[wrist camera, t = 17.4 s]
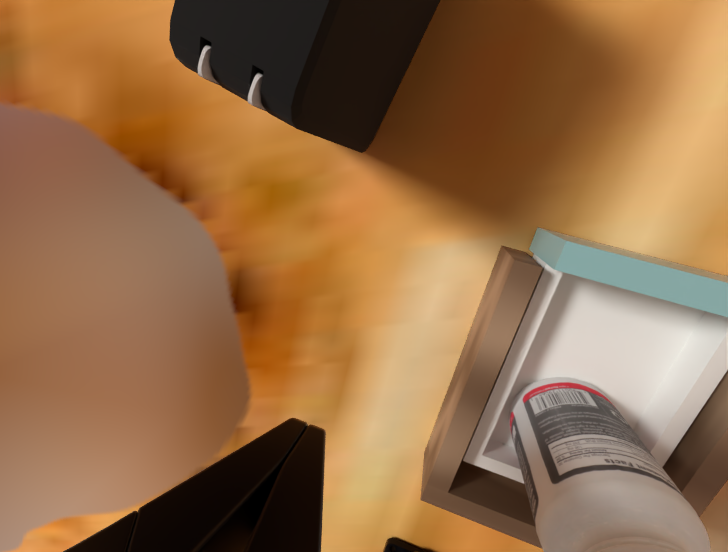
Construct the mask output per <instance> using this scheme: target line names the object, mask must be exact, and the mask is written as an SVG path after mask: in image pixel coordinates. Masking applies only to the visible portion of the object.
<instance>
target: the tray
mask: <svg viewBox="0 0 728 552" xmlns="http://www.w3.org/2000/svg"><path fill="white" fill-rule="evenodd" d="M529 250H530V251H531V252H533V253H534V254H533V257H532V259H533V260H534V261H536V262H537V263H538V264H539V265H540V266H541V267H543V269H542V271H541V273H540V276H539V278H538V280H537V283H536V285H535V287H534V290H533V292H532V295H531V297H530V299H529V302H528V304H527V306H526V309H525V311H524V314H523V316H522V318H521V321H520V323H519V325H518V328H517V330H516V333H515V335H514V337H513V340H512V342H511V344H510V347H509V349H508V351H507V354H506V356H505V359H504V361H503V363H502V366H501V368H500V370H499V373H498V375H497V378H496V380H495V382H494V385H493V387H492V389H491V392H490V394H489V396H488V399H487V401H486V404H485V406H484V408H483V411H482V413H481V415H480V418H479V420H478V423H477V425H476V427H475V430H474V432H473V434H472V437H471V439H470V442H469V444H468V446H467V449H466V451H465V453H464V456H463V461H465V462H467V463H470V464H473V465H475V466H478V467H481V468H483V469H486V470H489V471H491V472H494V473H497V474H499V475H502V476H505V477H508V478H510V479H513V480H516V481H518V482H521V483H524V480H523V476H522V472H521V469H520V465H519V461H518V457H517V453H516V450H515V447H514V443H513V440H512V435H511V431H510V427H509V421H508V414H509V410H510V406H511V404H512V402H513V400H514V398H515V397H516V395H517V394H518V393H519V392H520V391H521V390H522V389H523V388H525V387H526V386H528V385H530V384H531V383H533V382H536V381H538V380H542V379H545V378H552V377H569V378H574V379H578V380H581V381H584V382H587V383H589V384H591V385H593V386H594V387H596V388H597V389H599V390H600V391H601V392H602V393H603V394H605V395H606V397H607V398H608V399H609V400H610V401H611V402H612V404H613V405H614V406H615V407H616V409H617V410H618V411H619V412H620V414H621V415H622V416H623V418H624V419H625V420H626V421H627V423H628V424H629V425H630V427H631V428H632V429H633V430H634V432H635V433H636V434H637V435H638V437H639V438H640V439H641V441H642V442H643V443H644V445H645V446H646V448H647V449H648V450H649V451H650V453H651V454H652V455H653V457H654V458H655V459H656V460H657V462H658V463H659V464H660V465H661V467H663V466H664V464H665V463H666V461H667V460H668V458H669V457H670V455H671V454H672V452H673V451H674V449H675V448H676V446H677V445H678V443H679V442H680V440H681V439H682V437H683V436H684V434H685V433H686V431H687V430H688V428H689V427H690V425H691V424H692V422H693V421H694V419H695V418H696V416H697V415H698V413H699V412H700V410H701V409H702V407H703V406H704V404H705V403H706V401H707V400H708V398H709V397H710V395H711V394H712V392H713V391H714V389H715V388H716V387H717V385H718V384H719V382H720V381H721V379H722V378H723V376H724V375H725V373H726V372H727V370H728V276H725V275H721V274H717V273H713V272H709V271H706V270H702V269H698V268H694V267H690V266H686V265H682V264H678V263H674V262H671V261H667V260H663V259H659V258H655V257H651V256H647V255H643V254H640V253H636V252H632V251H628V250H624V249H620V248H616V247H612V246H608V245H605V244H601V243H597V242H593V241H589V240H585V239H581V238H577V237H574V236H570V235H566V234H562V233H558V232H554V231H550V230H546V229H543V228H539V227H538V228H537V230H536V233H535V235H534V238H533V240H532V243H531V245H530V248H529Z"/></svg>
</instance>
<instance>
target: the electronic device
mask: <svg viewBox="0 0 728 552" xmlns="http://www.w3.org/2000/svg"><path fill="white" fill-rule="evenodd" d="M439 2H440V0H175V3H174V7H173V11H172V15H171V20H170V43H171V46H172V48H173V51H174V54H175V57H176V58H177V59H178V60H179V61H180V62H181V63H182V64H183V65H184V66H186V67H187V68H189V69H191V70H192V71H194V72H196V73H198V75H199V76H201V77H203V78H204V79H207V80H209V81H211V82H214V83H216V84H218V85H220V86H222V87H223V88H225V89H226V90H228V91H230V92H232V93H234V94H235V95H237V96H239V97H241V98H243V99H244V100H246V101H248V103H249V104H251V105H253V106H255V107H257V108H260V109H262V110H265V111H267V112H268V113H270V114H271V115H273V116H275V117H277V118H279V119H280V120H282V121H284V122H286V123H287V124H289V125H291V126H293V127H295V128H296V129H299V130H302V131H304V132H307V133H310V134H313V135H315V136H318V137H321V138H323V139H326V140H329V141H331V142H334V143H337V144H340V145H342V146H345V147H348V148H350V149H353V150H356V151H358V152H361V153H362V152H364V151H366V149H367V148H368V147H369V145H370V144H371V142H372V140H373V138H374V136H375V134H376V132H377V130H378V128H379V126H380V124H381V122H382V120H383V118H384V116H385V114H386V112H387V109H388V107H389V105H390V103H391V101H392V99H393V97H394V95H395V93H396V91H397V89H398V87H399V85H400V83H401V80H402V78H403V76H404V74H405V72H406V70H407V68H408V66H409V64H410V62H411V60H412V58H413V56H414V53H415V51H416V49H417V47H418V45H419V43H420V41H421V39H422V37H423V35H424V33H425V31H426V29H427V26H428V24H429V22H430V20H431V18H432V16H433V14H434V12H435V10H436V8H437V6H438V4H439Z"/></svg>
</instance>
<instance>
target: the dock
mask: <svg viewBox="0 0 728 552" xmlns="http://www.w3.org/2000/svg"><path fill="white" fill-rule="evenodd" d="M542 269H543V267H541V266H540V265H539V264H538V263H537V262H536V261H534V260H533V259H532V258H531V257H530V256H529V255H528V254H526V253H525V252H523V251H519V250H516V249H512V248H508V247H504V246H501V249H500V252H499V254H498V257H497V260H496V262H495V265H494V268H493V270H492V273H491V276H490V279H489V281H488V284H487V287H486V289H485V292H484V295H483V297H482V300H481V303H480V305H479V308H478V311H477V313H476V316H475V319H474V321H473V324H472V327H471V329H470V332H469V335H468V337H467V340H466V343H465V345H464V348H463V351H462V353H461V356H460V359H459V362H458V364H457V367H456V370H455V372H454V375H453V378H452V380H451V383H450V386H449V388H448V391H447V394H446V396H445V399H444V402H443V404H442V407H441V410H440V412H439V415H438V418H437V420H436V423H435V426H434V428H433V431H432V434H431V436H430V439H429V442H428V444H427V447H426V450H425V453H424V465H423V477H422V489H421V500H422V501H425V502H427V503H430V504H432V505H435V506H437V507H440V508H442V509H445V510H447V511H450V512H452V513H455V514H457V515H460V516H462V517H465V518H467V519H470V520H472V521H475V522H477V523H480V524H482V525H484V526H487V527H489V528H492V529H494V530H497V531H499V532H502V533H504V534H507V535H509V536H512V537H514V538H517V539H519V540H522V541H524V542H527V543H529V544H532V545H534V546H537V547H539V548H542V546H541V543H540V541H539V538H538V535H537V532H536V528H535V522H534V519H533V515H532V511H531V507H530V503H529V499H528V495H527V491H526V487H525V484H524V483H521V482H518V481H516V480H513V479H510V478H508V477H505V476H502V475H499V474H497V473H494V472H491V471H489V470H486V469H483V468H481V467H478V466H475V465H473V464H470V463H467V462H465V461H463V456H464V453H465V451H466V449H467V446H468V444H469V442H470V439H471V437H472V434H473V432H474V430H475V427H476V425H477V423H478V420H479V418H480V415H481V413H482V411H483V408H484V406H485V404H486V401H487V399H488V396H489V394H490V392H491V389H492V387H493V385H494V382H495V380H496V378H497V375H498V373H499V370H500V368H501V366H502V363H503V361H504V359H505V356H506V354H507V351H508V349H509V347H510V344H511V342H512V340H513V337H514V335H515V333H516V330H517V328H518V325H519V323H520V321H521V318H522V316H523V314H524V311H525V309H526V306H527V304H528V302H529V299H530V297H531V295H532V292H533V290H534V287H535V285H536V283H537V280H538V278H539V276H540V273H541V271H542ZM662 468H663V469H664V471H665V472H666V473H667V475H668V476H669V477H670V479H671V480H672V481H673V482H674V484H675V485H676V486H677V488H678V489H679V490H680V492H681V493H682V494H683V495H684V497H685V498H686V500H687V501H688V502H689V503H690V504H691V506H692V507H693V508H694V510H695V511H696V513H697V515H698V516H699V517H700V515H701V514H702V513H703V511H704V510H705V509H706V507H707V506H708V505H709V503H710V502H711V501H712V500H713V498H714V497H715V496H716V494H717V493H718V492H719V490H720V489H721V488H722V486H723V485H724V484H725V482H726V481H727V480H728V370H727V372H726V373H725V375H724V376H723V378H722V379H721V381H720V382H719V384H718V385H717V387H716V388H715V389H714V391H713V392H712V394H711V395H710V397H709V398H708V400H707V401H706V403H705V404H704V406H703V407H702V409H701V410H700V412H699V413H698V415H697V416H696V418H695V419H694V421H693V422H692V424H691V425H690V427H689V428H688V430H687V431H686V433H685V434H684V436H683V437H682V439H681V440H680V442H679V443H678V445H677V446H676V448H675V449H674V451H673V452H672V454H671V455H670V457H669V458H668V460H667V461H666V463H665V464H664V466H663V467H662Z"/></svg>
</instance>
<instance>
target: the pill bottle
mask: <svg viewBox="0 0 728 552" xmlns="http://www.w3.org/2000/svg"><path fill="white" fill-rule="evenodd" d="M508 421H509V427H510V431H511V435H512V440H513V443H514V447H515V450H516V453H517V457H518V461H519V465H520V469H521V472H522V476H523V480H524V484H525V487H526V491H527V495H528V499H529V503H530V507H531V511H532V515H533V519H534V522H535V528H536V532H537V535H538V538H539V541H540V543H541V546H542V549H543V551H544V552H711V546H710V541H709V537H708V533H707V531H706V529H705V527H704V525H703V523H702V521H701V520H700V518H699V516H698V515H697V513H696V511H695V510H694V508H693V507H692V506H691V504H690V503H689V502H688V501H687V500H686V498H685V497H684V495H683V494H682V493H681V492H680V490H679V489H678V488H677V486H676V485H675V484H674V482H673V481H672V480H671V479H670V477H669V476H668V475H667V473H666V472H665V471H664V469H663V468H662V467H661V465H660V464H659V463H658V462H657V460H656V459H655V458H654V457H653V455H652V454H651V453H650V451H649V450H648V449H647V448H646V446H645V445H644V443H643V442H642V441H641V439H640V438H639V437H638V435H637V434H636V433H635V432H634V430H633V429H632V428H631V427H630V425H629V424H628V423H627V421H626V420H625V419H624V418H623V416H622V415H621V414H620V412H619V411H618V410H617V409H616V407H615V406H614V405H613V404H612V402H611V401H610V400H609V399H608V398H607V397H606V395H605V394H603V393H602V392H601V391H600V390H599V389H597V388H596V387H594V386H593V385H591V384H589V383H587V382H584V381H581V380H578V379H574V378H569V377H552V378H545V379H542V380H538V381H536V382H533V383H531V384H530V385H528V386H526V387H525V388H523V389H522V390H521V391H520V392H519V393H518V394H517V395H516V397H515V398H514V400H513V402H512V404H511V406H510V410H509V414H508Z"/></svg>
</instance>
